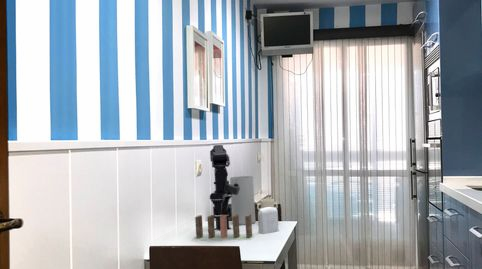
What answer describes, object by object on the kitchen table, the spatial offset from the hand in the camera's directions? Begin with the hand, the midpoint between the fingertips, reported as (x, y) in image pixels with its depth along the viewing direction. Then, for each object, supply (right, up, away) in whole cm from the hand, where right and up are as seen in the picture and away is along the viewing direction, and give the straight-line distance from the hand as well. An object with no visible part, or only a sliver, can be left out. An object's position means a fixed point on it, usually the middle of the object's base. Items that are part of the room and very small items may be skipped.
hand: (222, 212), depth 235 cm
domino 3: (+6, -11, -1) cm, 13 cm away
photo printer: (+22, -11, +7) cm, 25 cm away
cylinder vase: (+10, -12, +40) cm, 43 cm away
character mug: (+23, -11, +31) cm, 40 cm away
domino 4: (+12, -11, -3) cm, 16 cm away
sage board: (+1, -12, 0) cm, 12 cm away
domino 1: (-11, -12, +3) cm, 17 cm away
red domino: (+1, -11, 0) cm, 11 cm away
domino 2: (-5, -12, +2) cm, 13 cm away
